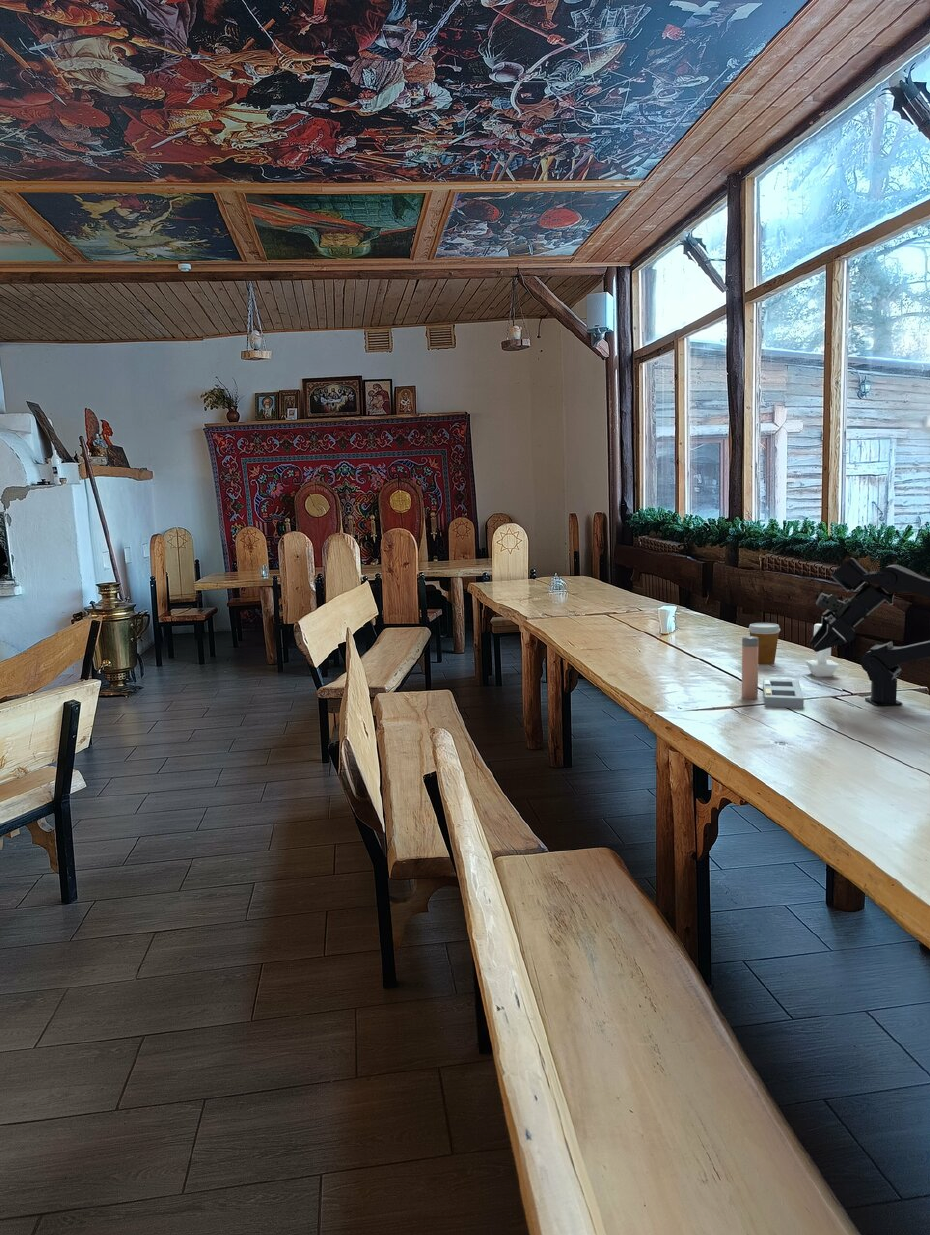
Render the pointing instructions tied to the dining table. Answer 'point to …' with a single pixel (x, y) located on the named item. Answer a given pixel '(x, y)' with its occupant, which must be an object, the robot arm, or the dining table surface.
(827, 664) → the figurine
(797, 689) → the socket plate
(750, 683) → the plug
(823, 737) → the dining table surface
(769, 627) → the disposable coffee cup
